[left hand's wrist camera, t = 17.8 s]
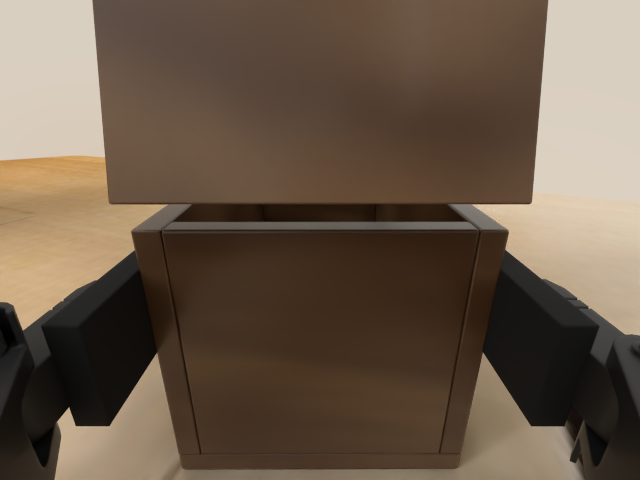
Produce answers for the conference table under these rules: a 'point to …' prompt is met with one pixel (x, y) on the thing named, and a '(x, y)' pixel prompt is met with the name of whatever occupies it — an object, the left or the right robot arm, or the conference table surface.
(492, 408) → the conference table surface
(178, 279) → the chest
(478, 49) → the lid
